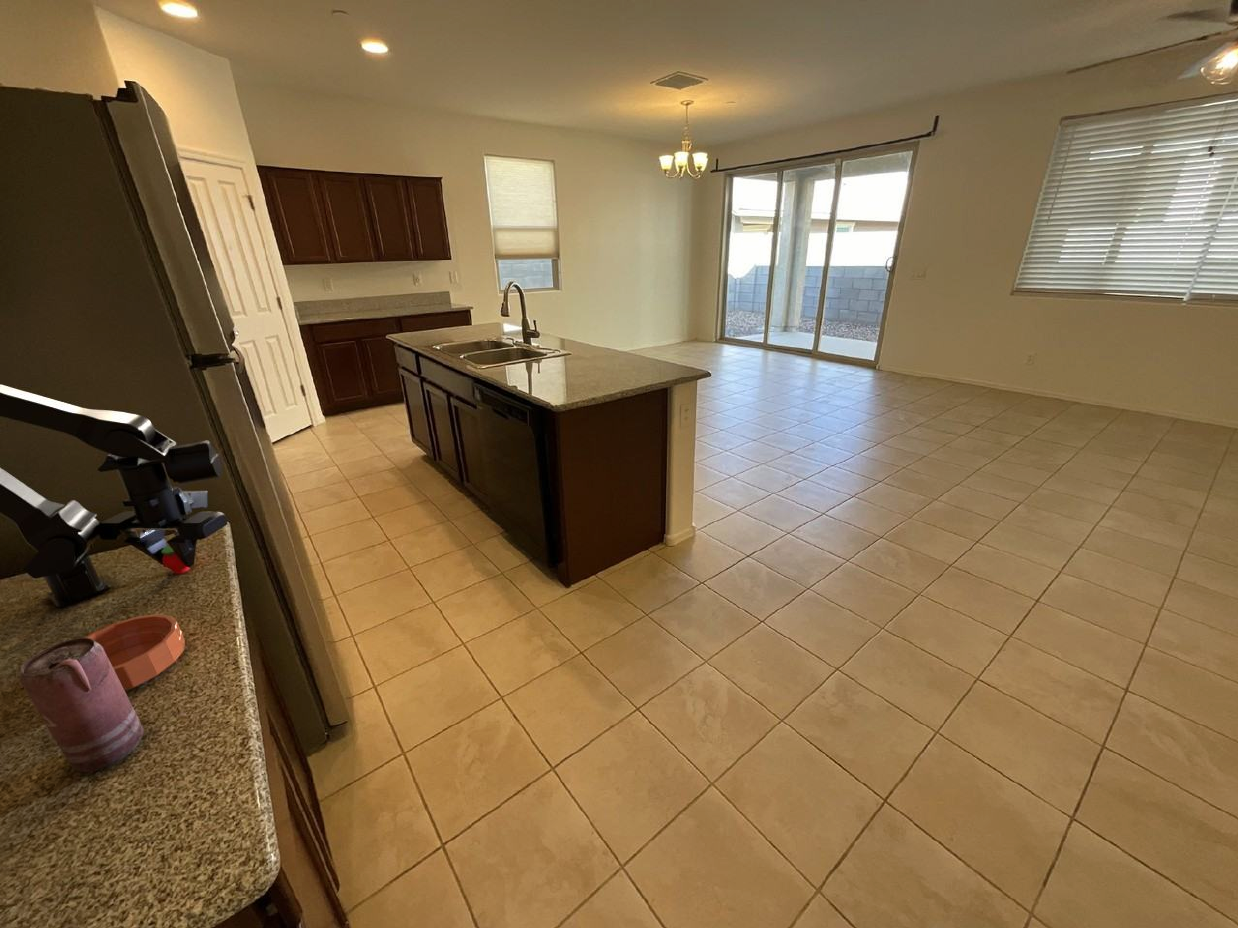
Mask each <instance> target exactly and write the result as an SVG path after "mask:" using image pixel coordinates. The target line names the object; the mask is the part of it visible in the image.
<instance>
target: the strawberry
mask: <svg viewBox="0 0 1238 928" xmlns="http://www.w3.org/2000/svg"><path fill="white" fill-rule="evenodd" d="M162 554H164V556H163V558H162V562H163V564H164V566H165V567H164V566H163V567H164V568H167V569H168V570H171V571H172V572H173V573H174V574H175V575H180V574H184V573H186V572H189V570H190V568H191V567H187V566H186V565H185V564H184V563H183V562H182V561H181V560H180V558H179V557H178V556H177V555H176V553H175V552H174V551H173V549H172V548H171V547H170V546H169V545H167V547H166V548H164V549H163V550H162Z"/></svg>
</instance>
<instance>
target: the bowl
mask: <svg viewBox="0 0 1238 928" xmlns="http://www.w3.org/2000/svg"><path fill="white" fill-rule="evenodd" d="M84 638H89V639H92V640H93V641H95V642H97V643H99V644H100V645H101V646H102V647H103V649H104V651H105V653H106V655H107V657H108V659H109V661H110V663H111V665H112V667H113V669H114V671H115V673H116V675H117V677H118V679H119V681H120V683H121V685H122V687H123V689H124V691H125V692H126V691H128V690H130V689H134V688H136V687H138V686H139V685H141V684H143V683H145V682H147V681H149V680H150V679H151V680H152V679H153V678H155V677H156V676H158V675H159V674H161V673H162V672H163V671H164V670H167V668H169V667H170V666H172V664H174V663H175V662H176V661H177V660H178V659H179V657H180V656H181V655H182V653H184V651H185V643H186V640H185V637H184V635H183V632H182V630H181V628H180V625H179V623H178V621H177V620H176V619H175V618H174V617H172V616H171V615H169V614H159V613H155V614H154V613H153V614H147V615H141V616H135V617H130V618H128V619H124V620H121V621H117V622H115V623H112V624H110V625H108V626H104V627H102V628H101V629H98V630H96V631H94V632H92V633H90V634H88V635H87V636H85V637H84Z"/></svg>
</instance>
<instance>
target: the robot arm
mask: <svg viewBox="0 0 1238 928" xmlns="http://www.w3.org/2000/svg"><path fill="white" fill-rule="evenodd" d="M0 417H1V418H4V419H8V420H13V421H16V422H20V423H24V424H29V425H32V426H35V427H38V428H39V427H40V428H44V429H47V430H50V431H54V432H55V431H56V432H58V433H63V434H65V435H69V436H71V437H73V438H76V439H78V440H79V441H81V443H84V444H85V445H86V446H89V447H91V448H93V449H96V450H99V451H102V452H104V453H106V454H107V455H106V456H105V460H104V462H103V463H102V464H101V465H100V466H99V467H98V468H97V472H100V473H103V472H110V471H116V472H117V473H118V476H119V479H120V480H121V481H120V482H121V483H122V486H123V488H124V490H125V493H126V495H127V498H126V499H123V500H122V501H121V502H122V503H123V506H124V507H125V508H126V507H127V508H128V507H132V510H133V511H122V512H120V513H118V514H116V515H113V516H112V517H110V518H107V519H106V520H103V521H102V522H99V520H97V518H96V517H97V516H98V513H95V512H91V511H89V510H87V509H86V508H85V507H84V506H82V505H81V503H79V502H78V501H76V500H75V499H71V500H69V502H67V503H66V504H63V503H59V502H55V501H51V500H49V499H47V498H45V497H44V496H43V495H41V494H40V493H38V492H36V491H35V490H34V489H32V488H31V487H30V486H28V485H26V484H25V483H24V482H22V481H21V480H19V479H17V478H16V477H15V476H13V475H12V474H10V473H9V472H8V471H6V470H5V469H3V468H2V467H0V514H1V515H2V516H3V517H5V518H7V519H8V520H10V521H11V522H13V523H14V524H15V525H16V527H17V529H18V531H19V532H20V534H21V536H22V538H23V540H24V541H25V542H26V544H28V545H29V546H30V547H31V548H32V549H34V550H35V551H36V553H35V555H34V556H33V557H32V558H31V559H30V560H29V561H28V563H27V564H26V565H25V566H24V568H23V572H25V573H26V574H27V575H29V576H30V577H31V578H32V579H41V578H43V579H44V580H45V582H46V584H47V586H48V588H49V589H50V593H48V594H46V595H47V598H48V599H49V600H50V601H51V602H52V603H53V604H54V605H55V606H56V607H57V608H58V609H62V608H65V607H68V606H70V605H73V604H76V603H78V602H81V601H83V600H85V599H88V598H90V597H93V596H96V595H99V594H101V593H103V592H106V591H108V590H110V589H111V585H110V584H109V583H107V582H106V581H105V580H104V579H103V578H101V576H99V574H98V572H97V570H96V568H95V566H94V563H93V562H92V559H91V557H90V555H89V554H88V553H89V551H90V550H92V549H93V547H94V542H95V541H96V540H97V539H98V537H100V540H103V541H104V540H105V541H108V540H110V541H111V540H113V541H114V540H118V539H119V538H120V537H121V536H122V533H124V535H125V536H126V538H125V539H123V540H122V541H123V543H124V544H128V545H130V546H132V547H133V548H135V549H137V550H138V551H140V552H142V553H143V554H145V555H147V556H148V557H149V558H151V559H153V560H154V561H155V562H157V563H158V564H159V565H161V566H163V567H164V568H166V567H165V566H164V564H163V562H162V558H163V556H164V554H162V550H163V549H164V548H166V547H168V546H170V547H171V548H172V549H173V551H174V552H175V553H176V555H177V556H178V557H179V558H180V560H181V561H182V562H183V563H184V564H185V565H186V566H187V567H189V568H192V567H193V566H194V565H195V561H196V551H197V544H198V541H202V540H204V539H207V538H208V537H210V536H211V535H213V534H215V533H216V532H218V531H219V530H221V529H223V528H224V527H226V526H227V525H228V521H227V517H226V515H225V513H224V512H221V511H217V510H216V511H214V510H213V511H212V510H211V511H198V512H196V514H193V515H191V516H190V517H188V518H183V517H184V516H187V515H189V514H191V513H193V510H192V509H200V508H202V509H207V508H208V507H209V505H208V504H209V499H208V490H182V488H180V487H179V486H172V484H171V481H170V480H172V482H173V483H178V484H179V485H184V484H190V483H196V482H201V481H202V482H203V481H208V480H215V479H219V478H222V476H223V466H222V465H223V464H222V460H221V458H220V457H221V456H220V454H219V453H217V451H216V449H215V448H214V447H213V446H212V444H211V441H210V440H208V439H207V440H206V439H205V440H200V441H197V442H193V443H186V444H179V445H177V442H176V441H175V440H174V439H171V437H169V436H167V435H165V434H163V433H162V432H160V431H159V430H158V429H156V428H155V426H154V425H153V423H152V422H151V420H149V418H147V417H145V416H143V415H140V414H136V413H129V412H124V411H117V410H105V409H91V408H86V407H81V406H77V405H73V404H70V403H67V402H63V401H60V400H57V399H52V398H49V397H45V396H43V395H39V394H36V393H33V392H28V391H25V390H21V389H17V388H15V387H11V386H8V385H4V384H0ZM166 531H175V533H174V536H173V537H171V538H170V539H167V541H166V538H165V535H166Z"/></svg>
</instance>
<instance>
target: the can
mask: <svg viewBox="0 0 1238 928" xmlns="http://www.w3.org/2000/svg"><path fill="white" fill-rule="evenodd" d="M18 681H19V682H20V684H21V686H22V688H23V689H24V691H25V692H26V694H27V696H28V697H29V699H30V701H31V702H32V704H33V706H34V707H35V709H36V711H37V712H38V714H39V715H40V717H41V719H42V720H43V721H42V722H44V724H45V725H46V727H47V728H48V731H49V732H50V734H51V736H52V738H53V739H54V741H55V742H56V744H57V745H58V747H59V749H60V750H61V752H62V754H63V755H64V758H65V759H66V760H67V762H68V764H69V765H70V768H71V769H73V770H74V771H77V772H82V773H94V772H98V771H101V770H105V769H107V768H109V767H112V766H113V765H115V764H117V763H119V762H120V761H123V760H124V759H125V758H126V757H128V755H130V754H131V753H132V752H134V750H136V748H137V747H138V746H139V745H140V743H141V741H142V739H143V736H144V734H145V732H144V726H143V725H142V723H141V720H140V719H139V717H138V715H137V713H136V711H135V709H134V707H133V705H132V703H131V701H130V699H129V697H128V694H127V693H126V690H125V691H124V689H123V687H122V685H121V683H120V681H119V679H118V677H117V675H116V673H115V671H114V669H113V667H112V665H111V663H110V661H109V659H108V657H107V655H106V653H105V651H104V649H103V647H102V646H101V645H100V644H99V643H97V642H95V641H93V640H92V639H89V638H85V637H80V638H73V639H68V640H65V641H62V642H59V643H57V644H54V645H52V646H50V647H47V648H45V649H43V650H41V651H39V652H38V653H36V654H34V655H33V656H31V657H30V658H28V659H27V660H26V661H25V662H24V663H23V664H22V666H21V668H20V675H19V680H18Z"/></svg>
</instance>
